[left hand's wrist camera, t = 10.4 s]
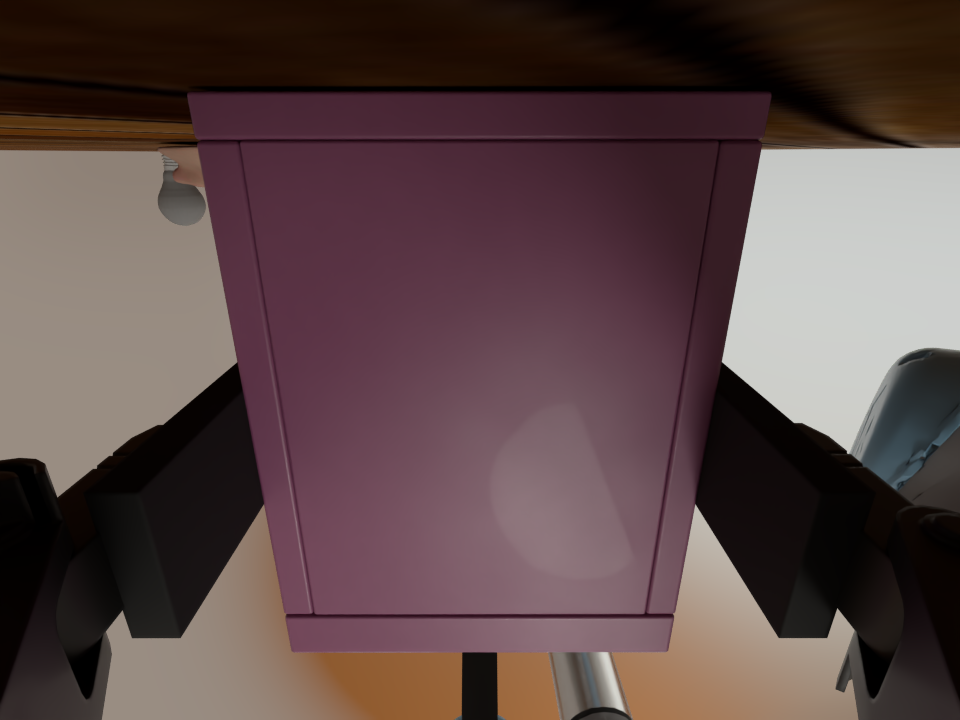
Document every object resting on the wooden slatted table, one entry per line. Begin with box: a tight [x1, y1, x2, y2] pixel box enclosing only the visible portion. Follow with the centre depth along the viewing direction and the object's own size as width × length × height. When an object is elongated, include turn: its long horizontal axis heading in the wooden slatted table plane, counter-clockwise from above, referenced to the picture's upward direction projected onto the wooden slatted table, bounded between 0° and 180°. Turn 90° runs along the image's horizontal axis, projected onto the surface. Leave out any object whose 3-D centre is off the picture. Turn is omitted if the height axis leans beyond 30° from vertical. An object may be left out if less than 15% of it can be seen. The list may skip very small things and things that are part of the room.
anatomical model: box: [158, 146, 205, 187], centre depth 42 cm, size 13×4×12 cm
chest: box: [187, 91, 771, 614], centre depth 16 cm, size 13×9×11 cm
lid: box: [286, 611, 674, 652], centre depth 20 cm, size 14×9×9 cm
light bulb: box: [158, 155, 206, 226], centre depth 74 cm, size 6×6×10 cm
